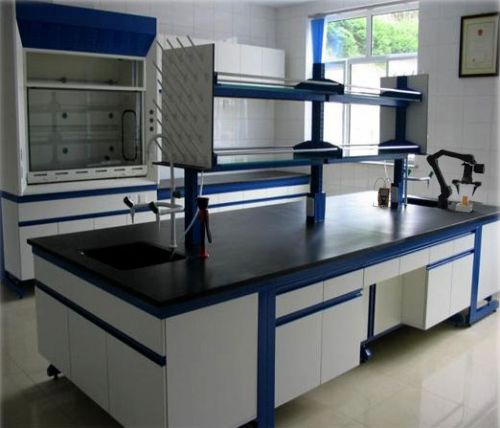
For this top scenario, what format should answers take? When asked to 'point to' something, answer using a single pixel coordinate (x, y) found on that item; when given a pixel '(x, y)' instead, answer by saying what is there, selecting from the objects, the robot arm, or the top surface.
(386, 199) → the multimeter
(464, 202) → the plug
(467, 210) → the socket block
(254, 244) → the top surface
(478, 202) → the clip
